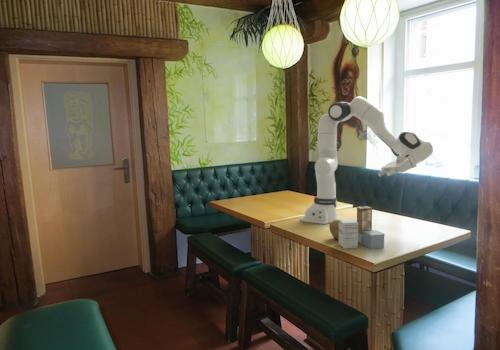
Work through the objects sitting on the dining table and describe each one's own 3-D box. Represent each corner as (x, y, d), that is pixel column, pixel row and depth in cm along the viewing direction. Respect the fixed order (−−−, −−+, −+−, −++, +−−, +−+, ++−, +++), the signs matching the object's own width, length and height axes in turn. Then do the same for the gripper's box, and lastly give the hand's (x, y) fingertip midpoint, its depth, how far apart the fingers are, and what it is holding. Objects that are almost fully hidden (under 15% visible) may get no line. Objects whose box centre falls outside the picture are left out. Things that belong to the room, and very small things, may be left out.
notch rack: (366, 237, 197) (366, 225, 196) (384, 247, 182) (384, 234, 181) (354, 239, 196) (354, 226, 195) (370, 248, 180) (370, 235, 179)
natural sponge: (345, 236, 201) (345, 217, 200) (349, 241, 192) (349, 222, 191) (328, 236, 201) (328, 217, 200) (330, 241, 193) (331, 222, 191)
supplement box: (338, 243, 189) (338, 218, 187) (352, 243, 189) (353, 218, 188) (343, 248, 181) (343, 222, 180) (358, 248, 182) (358, 222, 180)
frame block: (367, 231, 195) (367, 206, 193) (371, 233, 191) (372, 207, 189) (356, 232, 193) (356, 207, 192) (360, 234, 190) (361, 208, 188)
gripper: (392, 157, 210) (371, 170, 208) (412, 155, 189) (389, 168, 188) (397, 167, 210) (377, 180, 208) (418, 166, 190) (395, 180, 188)
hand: (383, 174), depth 198 cm, fingers open, 8 cm apart
